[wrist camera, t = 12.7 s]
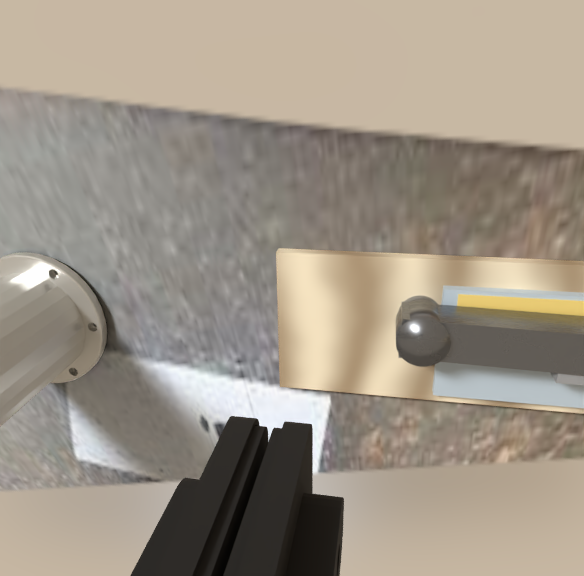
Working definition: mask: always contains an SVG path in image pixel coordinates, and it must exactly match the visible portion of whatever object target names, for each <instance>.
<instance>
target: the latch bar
mask: <svg viewBox="0 0 584 576" xmlns="http://www.w3.org/2000/svg"><path fill="white" fill-rule="evenodd" d="M396 348H397V351H398V358H403V359H404V360H405V361H406V362H408V363H410V364H412V365H415V366H420V367H427V366H432V365H435V364H437V363H439V362H447V363H457V364H468V365H478V366H488V367H499V368H509V369H519V370H529V371H540V372H550V373H560V374H571V375H581V376H584V316H577V315H565V314H552V313H540V312H527V311H514V310H502V309H489V308H477V307H464V306H452V305H439V304H436V303H434V302H432V301H429V300H424V299H418V300H413V301H410V302H401V308H400V310H399V311H398V313H397V316H396Z"/></svg>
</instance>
